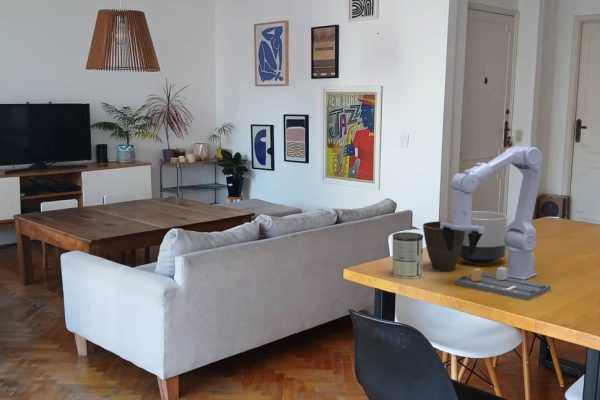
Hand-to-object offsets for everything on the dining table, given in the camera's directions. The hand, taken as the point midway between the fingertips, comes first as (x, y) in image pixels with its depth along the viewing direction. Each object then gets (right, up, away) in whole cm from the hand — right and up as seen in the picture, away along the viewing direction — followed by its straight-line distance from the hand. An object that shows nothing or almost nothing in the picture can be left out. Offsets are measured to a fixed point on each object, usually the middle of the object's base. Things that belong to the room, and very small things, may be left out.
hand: (460, 252), depth 204 cm
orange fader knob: (+5, -9, -1) cm, 10 cm away
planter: (+15, -6, +32) cm, 36 cm away
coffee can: (-15, -9, +13) cm, 22 cm away
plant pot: (-1, -8, +21) cm, 23 cm away
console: (+12, -11, -3) cm, 17 cm away
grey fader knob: (+13, -9, 0) cm, 16 cm away
